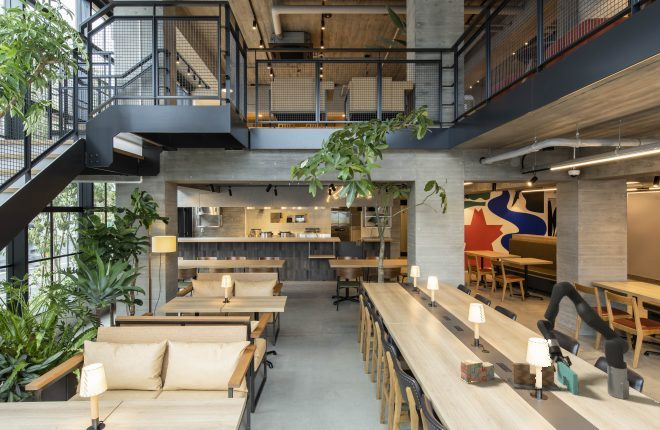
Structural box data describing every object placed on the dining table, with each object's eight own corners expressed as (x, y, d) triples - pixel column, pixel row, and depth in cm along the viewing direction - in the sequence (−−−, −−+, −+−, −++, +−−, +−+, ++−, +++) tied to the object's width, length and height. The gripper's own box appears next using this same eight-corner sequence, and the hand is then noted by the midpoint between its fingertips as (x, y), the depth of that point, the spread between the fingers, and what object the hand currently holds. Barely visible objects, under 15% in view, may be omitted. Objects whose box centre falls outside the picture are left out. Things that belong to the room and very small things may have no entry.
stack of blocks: (488, 375, 246) (487, 357, 246) (494, 379, 240) (494, 360, 240) (460, 379, 240) (460, 360, 240) (466, 383, 234) (466, 364, 234)
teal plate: (557, 379, 238) (557, 361, 238) (561, 379, 238) (561, 361, 238) (573, 394, 218) (573, 374, 218) (577, 394, 218) (577, 374, 218)
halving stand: (551, 382, 235) (551, 361, 235) (560, 390, 223) (560, 369, 223) (507, 380, 239) (507, 359, 239) (514, 388, 227) (513, 367, 227)
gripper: (543, 344, 244) (552, 369, 232) (566, 345, 242) (576, 370, 230) (540, 349, 249) (548, 373, 237) (563, 350, 247) (572, 374, 236)
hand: (562, 371), depth 234 cm, fingers open, 8 cm apart
